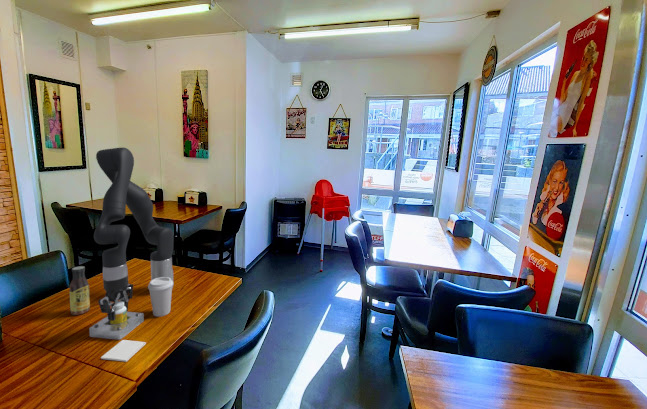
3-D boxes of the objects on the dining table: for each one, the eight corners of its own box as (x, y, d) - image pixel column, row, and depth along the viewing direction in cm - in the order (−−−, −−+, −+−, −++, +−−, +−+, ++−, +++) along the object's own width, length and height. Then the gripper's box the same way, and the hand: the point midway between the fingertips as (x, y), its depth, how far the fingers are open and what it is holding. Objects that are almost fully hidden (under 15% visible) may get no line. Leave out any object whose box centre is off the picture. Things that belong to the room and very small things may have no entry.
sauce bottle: (78, 317, 110) (74, 272, 107) (66, 314, 111) (62, 270, 108) (94, 308, 117) (91, 266, 114) (83, 306, 118) (79, 264, 115)
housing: (116, 318, 111) (116, 309, 110) (143, 321, 110) (143, 312, 110) (89, 336, 99) (89, 327, 99) (120, 339, 99) (119, 330, 98)
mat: (122, 341, 98) (122, 339, 98) (145, 343, 97) (145, 342, 97) (101, 358, 89) (100, 357, 89) (126, 361, 89) (126, 360, 88)
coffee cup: (179, 310, 119) (178, 279, 117) (158, 321, 111) (157, 287, 108) (165, 304, 123) (164, 274, 121) (144, 314, 115) (142, 282, 112)
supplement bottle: (112, 323, 106) (111, 301, 105) (128, 320, 109) (127, 299, 107) (108, 331, 101) (107, 308, 100) (125, 328, 104) (124, 305, 102)
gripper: (121, 267, 109) (124, 305, 112) (88, 283, 95) (92, 325, 97) (139, 268, 108) (141, 306, 111) (108, 284, 94) (111, 327, 97)
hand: (118, 315), depth 104 cm, fingers closed on supplement bottle, 5 cm apart
